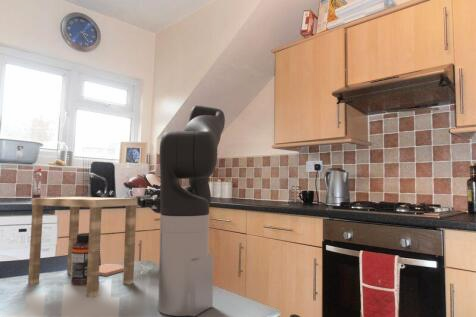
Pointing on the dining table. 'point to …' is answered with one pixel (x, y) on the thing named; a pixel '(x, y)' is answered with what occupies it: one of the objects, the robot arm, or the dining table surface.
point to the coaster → (110, 269)
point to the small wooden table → (94, 235)
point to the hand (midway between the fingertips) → (129, 203)
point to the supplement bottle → (80, 260)
